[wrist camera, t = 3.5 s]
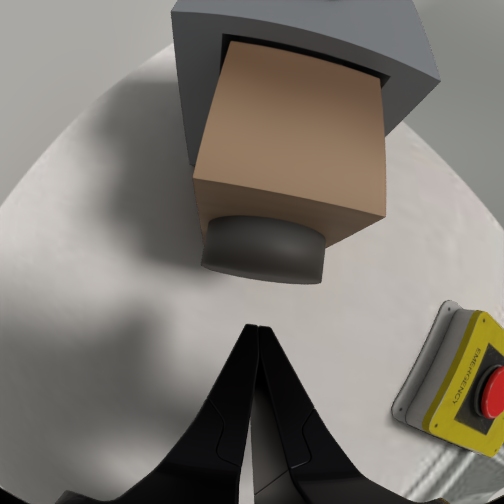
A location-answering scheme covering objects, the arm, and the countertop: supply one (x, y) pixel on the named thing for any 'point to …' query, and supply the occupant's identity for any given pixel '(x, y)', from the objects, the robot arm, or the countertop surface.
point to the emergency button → (458, 382)
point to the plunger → (287, 163)
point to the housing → (303, 48)
